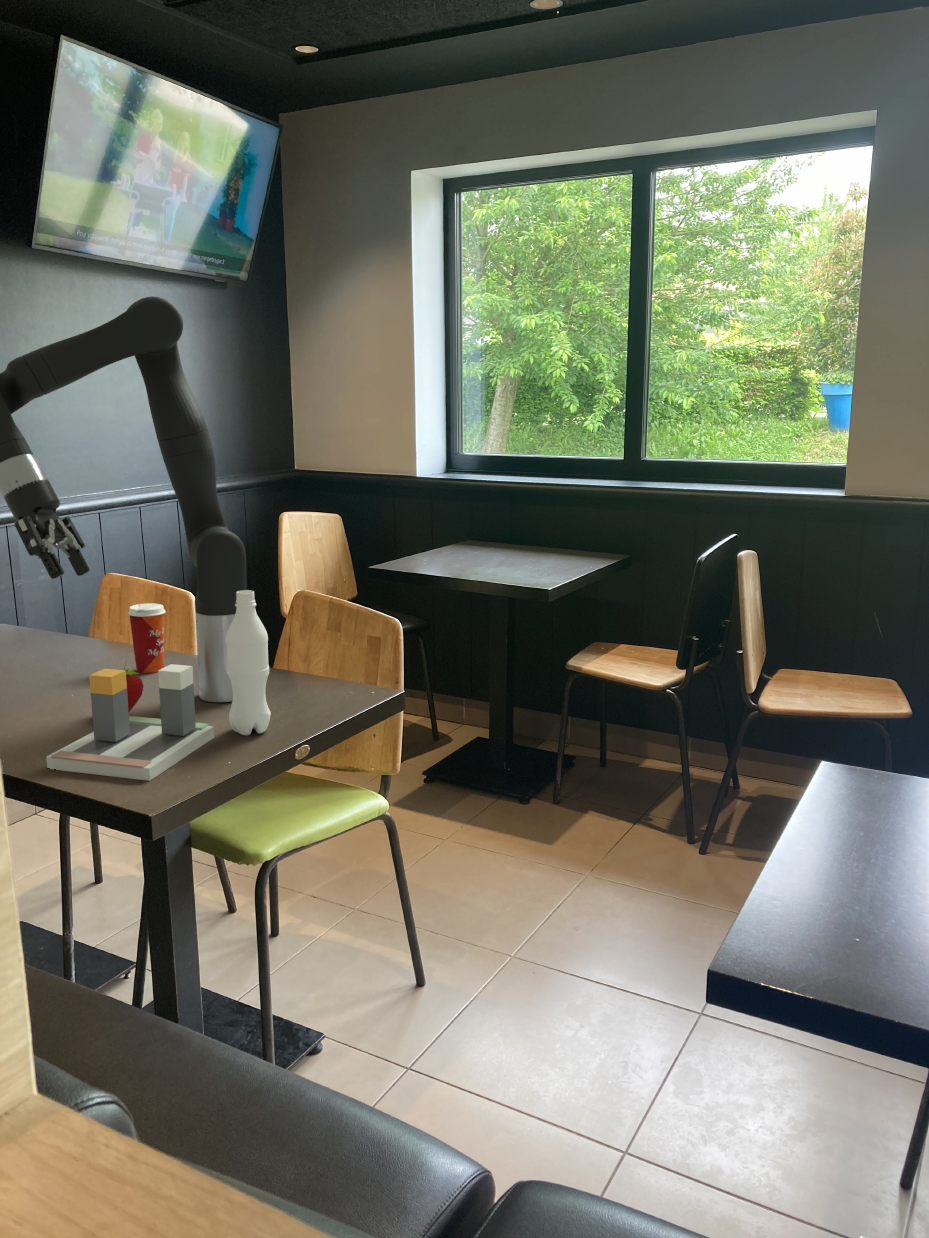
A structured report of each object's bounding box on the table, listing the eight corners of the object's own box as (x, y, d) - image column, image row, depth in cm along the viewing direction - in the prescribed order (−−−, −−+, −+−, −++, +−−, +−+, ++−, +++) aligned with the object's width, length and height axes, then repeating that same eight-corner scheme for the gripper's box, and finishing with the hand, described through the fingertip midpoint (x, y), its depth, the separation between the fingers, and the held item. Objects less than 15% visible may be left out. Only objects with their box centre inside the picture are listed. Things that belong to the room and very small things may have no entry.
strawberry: (121, 706, 177) (118, 655, 175) (153, 712, 174) (149, 660, 172) (98, 715, 172) (94, 663, 169) (130, 721, 169) (126, 668, 166)
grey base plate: (122, 727, 165) (117, 654, 162) (214, 736, 161) (211, 662, 158) (46, 769, 146) (39, 687, 143) (149, 781, 142) (143, 697, 139)
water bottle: (235, 740, 160) (229, 597, 155) (225, 727, 166) (219, 589, 161) (276, 733, 163) (271, 594, 158) (264, 721, 169) (260, 586, 164)
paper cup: (162, 675, 198) (158, 610, 195) (126, 674, 198) (121, 609, 195) (173, 665, 205) (170, 602, 202) (139, 664, 205) (135, 602, 202)
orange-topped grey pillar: (108, 731, 156) (104, 668, 154) (130, 733, 156) (125, 670, 153) (94, 739, 153) (89, 675, 150) (115, 741, 152) (111, 677, 149)
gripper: (20, 475, 148) (69, 567, 148) (66, 479, 162) (110, 563, 163) (-19, 497, 148) (29, 588, 149) (30, 499, 163) (74, 582, 163)
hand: (71, 575), depth 156 cm, fingers open, 8 cm apart
